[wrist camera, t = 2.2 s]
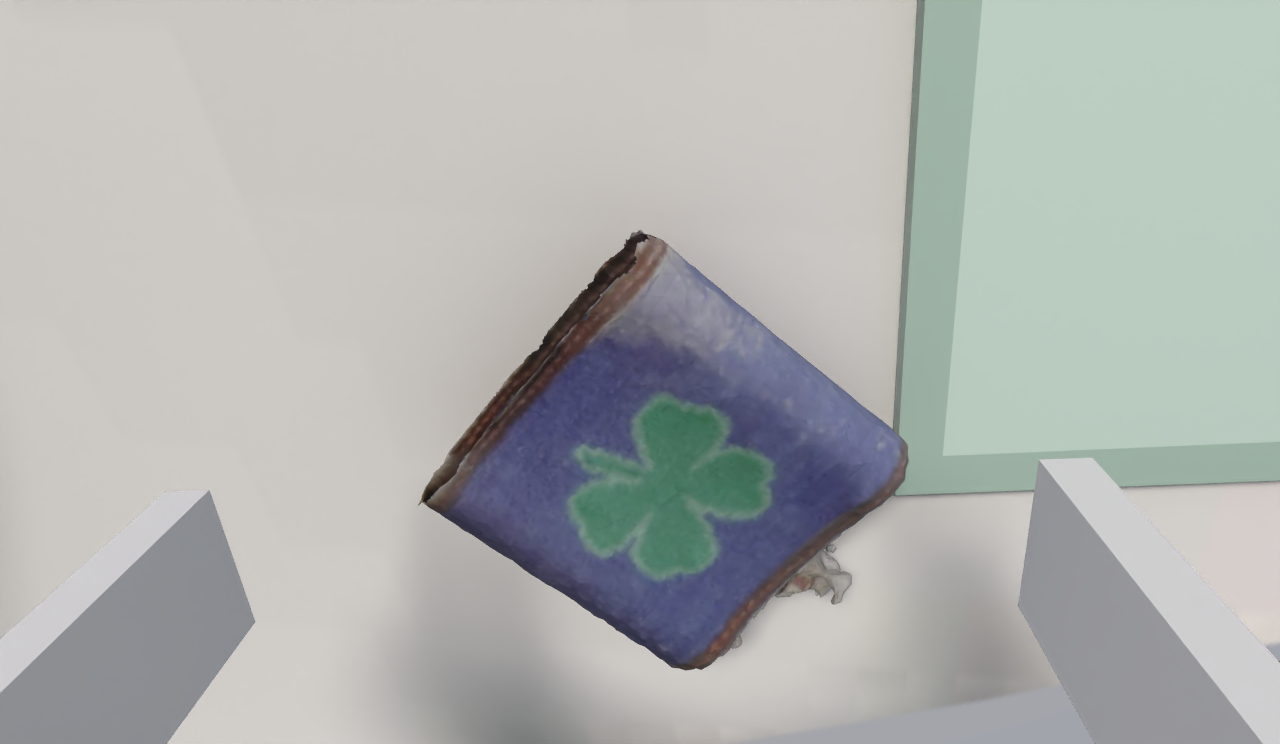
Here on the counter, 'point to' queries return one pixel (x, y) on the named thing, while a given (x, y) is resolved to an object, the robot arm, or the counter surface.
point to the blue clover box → (669, 461)
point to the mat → (1091, 243)
